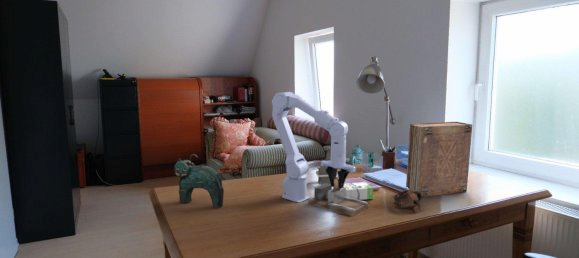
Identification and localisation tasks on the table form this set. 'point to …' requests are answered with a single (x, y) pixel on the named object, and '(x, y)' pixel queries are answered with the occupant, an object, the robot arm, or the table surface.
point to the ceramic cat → (198, 181)
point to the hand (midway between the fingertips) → (337, 187)
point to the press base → (345, 206)
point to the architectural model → (323, 175)
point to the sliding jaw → (336, 192)
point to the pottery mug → (414, 196)
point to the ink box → (359, 191)
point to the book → (438, 157)
